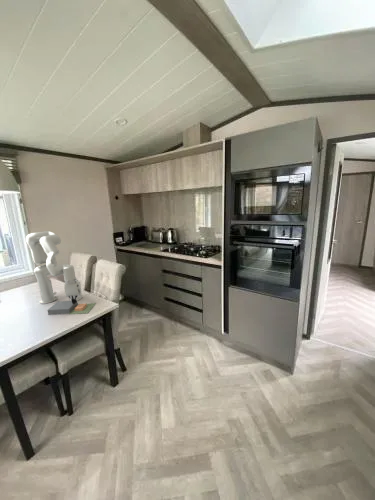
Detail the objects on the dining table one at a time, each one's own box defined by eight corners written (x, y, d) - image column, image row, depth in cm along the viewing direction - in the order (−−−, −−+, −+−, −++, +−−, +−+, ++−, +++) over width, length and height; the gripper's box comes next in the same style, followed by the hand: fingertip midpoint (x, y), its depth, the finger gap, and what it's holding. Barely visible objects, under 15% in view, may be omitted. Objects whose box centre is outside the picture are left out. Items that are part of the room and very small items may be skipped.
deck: (58, 305, 179) (57, 301, 178) (78, 304, 179) (77, 300, 178) (48, 314, 165) (47, 310, 165) (69, 313, 166) (68, 308, 165)
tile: (86, 303, 176) (87, 305, 176) (79, 303, 176) (79, 306, 176) (82, 308, 168) (82, 310, 169) (74, 308, 168) (74, 311, 168)
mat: (78, 304, 180) (78, 303, 180) (95, 303, 180) (95, 303, 180) (68, 314, 165) (68, 313, 165) (87, 313, 165) (87, 312, 165)
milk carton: (69, 300, 188) (65, 279, 184) (76, 297, 195) (72, 276, 190) (76, 301, 186) (72, 280, 182) (82, 297, 193) (79, 277, 188)
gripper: (82, 279, 171) (86, 300, 175) (63, 280, 171) (67, 301, 175) (78, 282, 164) (81, 305, 168) (58, 283, 163) (62, 306, 168)
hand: (74, 303), depth 171 cm, fingers closed
